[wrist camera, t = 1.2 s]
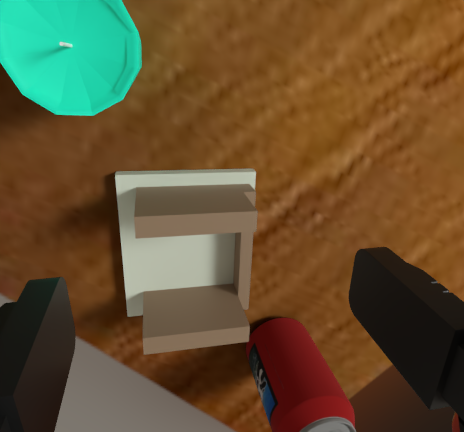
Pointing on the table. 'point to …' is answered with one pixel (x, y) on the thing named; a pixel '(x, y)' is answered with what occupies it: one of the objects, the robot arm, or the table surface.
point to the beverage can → (296, 380)
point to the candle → (70, 52)
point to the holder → (187, 254)
